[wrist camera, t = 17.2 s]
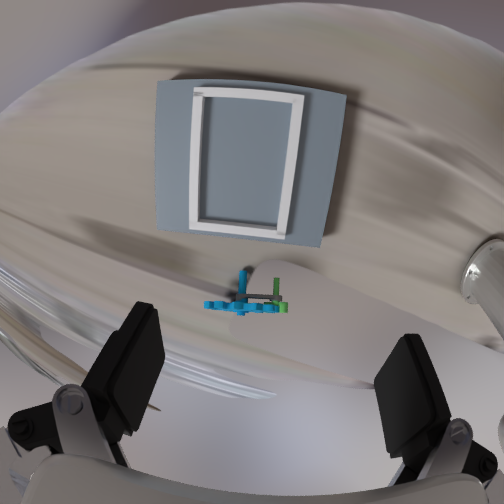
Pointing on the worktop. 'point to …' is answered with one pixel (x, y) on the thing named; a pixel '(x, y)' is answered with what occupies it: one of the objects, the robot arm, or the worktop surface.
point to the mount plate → (246, 159)
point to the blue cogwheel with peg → (244, 307)
